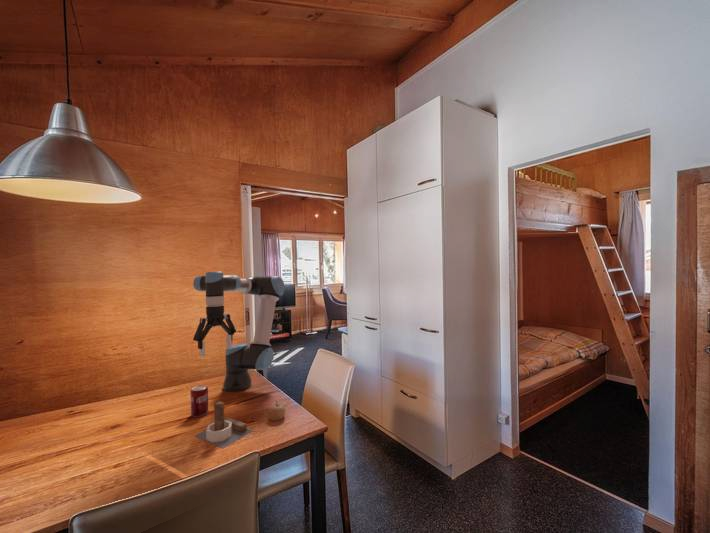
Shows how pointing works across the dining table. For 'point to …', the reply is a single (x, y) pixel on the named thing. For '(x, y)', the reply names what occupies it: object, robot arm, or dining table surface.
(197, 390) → the soda can
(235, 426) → the bar
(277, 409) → the fruit
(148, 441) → the dining table surface
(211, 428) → the white octagonal bowl
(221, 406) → the brown wooden bar
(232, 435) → the slate board
